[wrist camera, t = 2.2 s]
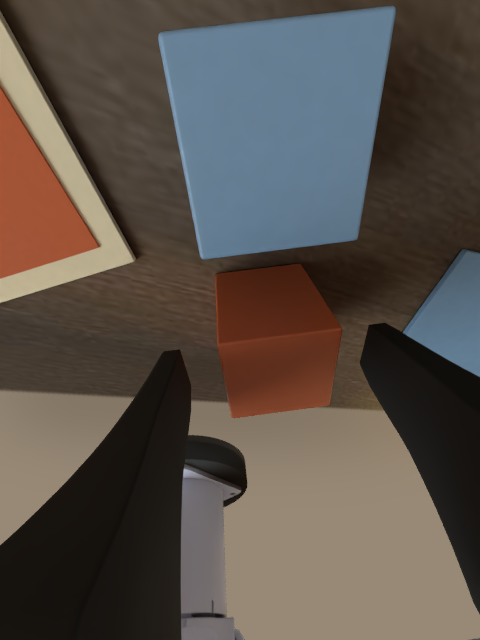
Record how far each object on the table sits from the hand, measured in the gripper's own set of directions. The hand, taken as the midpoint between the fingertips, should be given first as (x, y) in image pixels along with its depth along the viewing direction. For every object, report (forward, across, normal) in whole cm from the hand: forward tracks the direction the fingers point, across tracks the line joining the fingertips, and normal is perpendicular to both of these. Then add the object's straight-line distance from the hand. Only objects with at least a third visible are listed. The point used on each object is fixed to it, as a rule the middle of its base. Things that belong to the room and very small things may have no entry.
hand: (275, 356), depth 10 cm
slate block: (+4, 0, -7) cm, 8 cm away
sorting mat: (+4, +13, -20) cm, 24 cm away
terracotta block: (+4, 0, 0) cm, 4 cm away
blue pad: (+4, -12, +3) cm, 13 cm away
